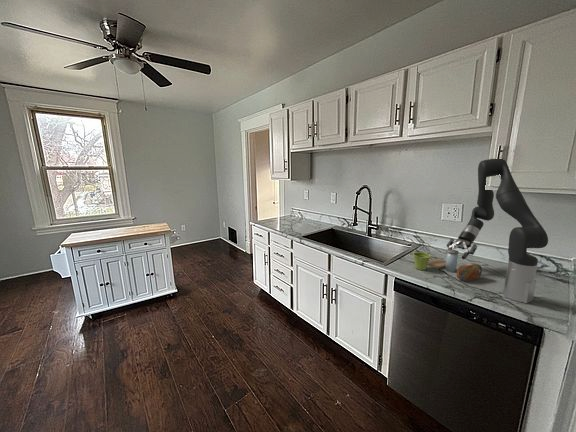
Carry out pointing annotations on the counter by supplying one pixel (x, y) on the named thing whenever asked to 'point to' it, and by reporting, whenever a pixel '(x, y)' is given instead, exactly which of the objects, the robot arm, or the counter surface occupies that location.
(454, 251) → the blue jar
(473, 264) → the tin
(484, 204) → the robot arm
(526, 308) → the counter surface
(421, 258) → the plant pot
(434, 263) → the tan board
